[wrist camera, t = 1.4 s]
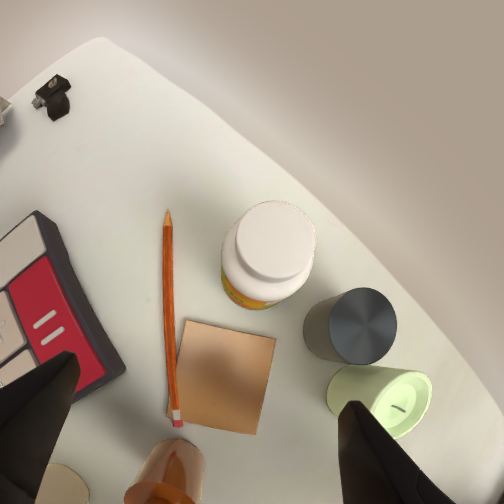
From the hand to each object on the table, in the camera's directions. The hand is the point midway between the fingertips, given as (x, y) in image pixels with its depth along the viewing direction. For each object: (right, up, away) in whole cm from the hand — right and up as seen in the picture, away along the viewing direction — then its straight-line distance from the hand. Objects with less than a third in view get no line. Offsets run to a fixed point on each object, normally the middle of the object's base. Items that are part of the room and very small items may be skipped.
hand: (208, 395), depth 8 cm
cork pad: (-1, -5, +13) cm, 14 cm away
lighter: (-21, +26, +19) cm, 38 cm away
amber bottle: (-5, -12, +10) cm, 17 cm away
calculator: (-17, -2, +12) cm, 21 cm away
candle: (+10, -7, +14) cm, 18 cm away
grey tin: (+8, -2, +15) cm, 17 cm away
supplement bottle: (+2, +2, +16) cm, 16 cm away
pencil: (-5, -1, +14) cm, 15 cm away
